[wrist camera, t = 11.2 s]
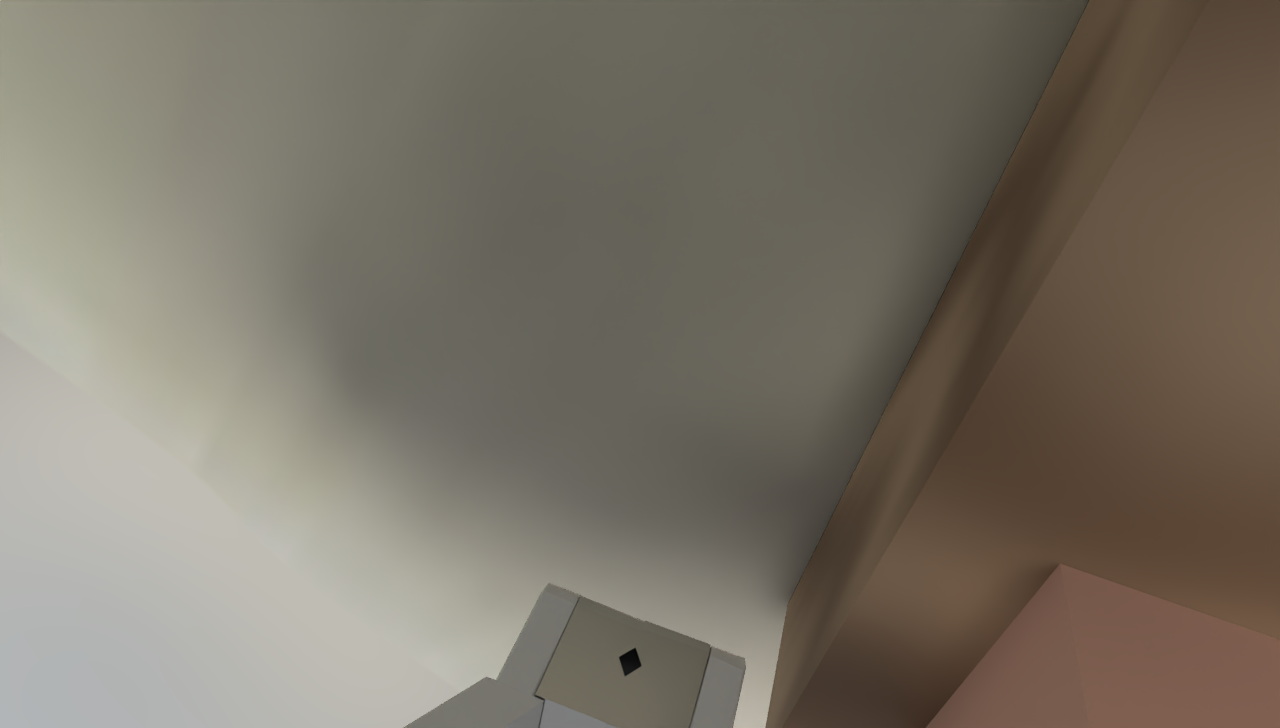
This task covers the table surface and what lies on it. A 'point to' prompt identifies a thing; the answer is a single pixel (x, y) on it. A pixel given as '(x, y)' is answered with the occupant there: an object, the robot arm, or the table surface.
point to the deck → (1075, 379)
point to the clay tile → (1117, 665)
